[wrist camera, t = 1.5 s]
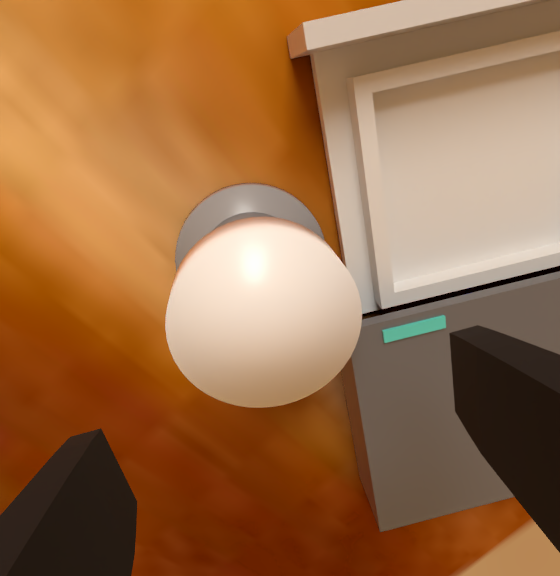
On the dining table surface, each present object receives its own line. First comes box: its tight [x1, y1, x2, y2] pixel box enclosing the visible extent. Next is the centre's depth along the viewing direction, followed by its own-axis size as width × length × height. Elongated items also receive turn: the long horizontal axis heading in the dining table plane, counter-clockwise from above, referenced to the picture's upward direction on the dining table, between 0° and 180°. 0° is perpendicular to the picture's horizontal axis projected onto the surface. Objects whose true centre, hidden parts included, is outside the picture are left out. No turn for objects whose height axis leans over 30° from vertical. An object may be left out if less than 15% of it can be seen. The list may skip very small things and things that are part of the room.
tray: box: [287, 0, 560, 314], centre depth 17 cm, size 13×11×3 cm
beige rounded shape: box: [165, 217, 362, 408], centre depth 14 cm, size 6×6×2 cm
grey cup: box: [175, 183, 324, 271], centre depth 16 cm, size 6×6×5 cm
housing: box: [341, 271, 560, 532], centre depth 20 cm, size 13×11×3 cm
